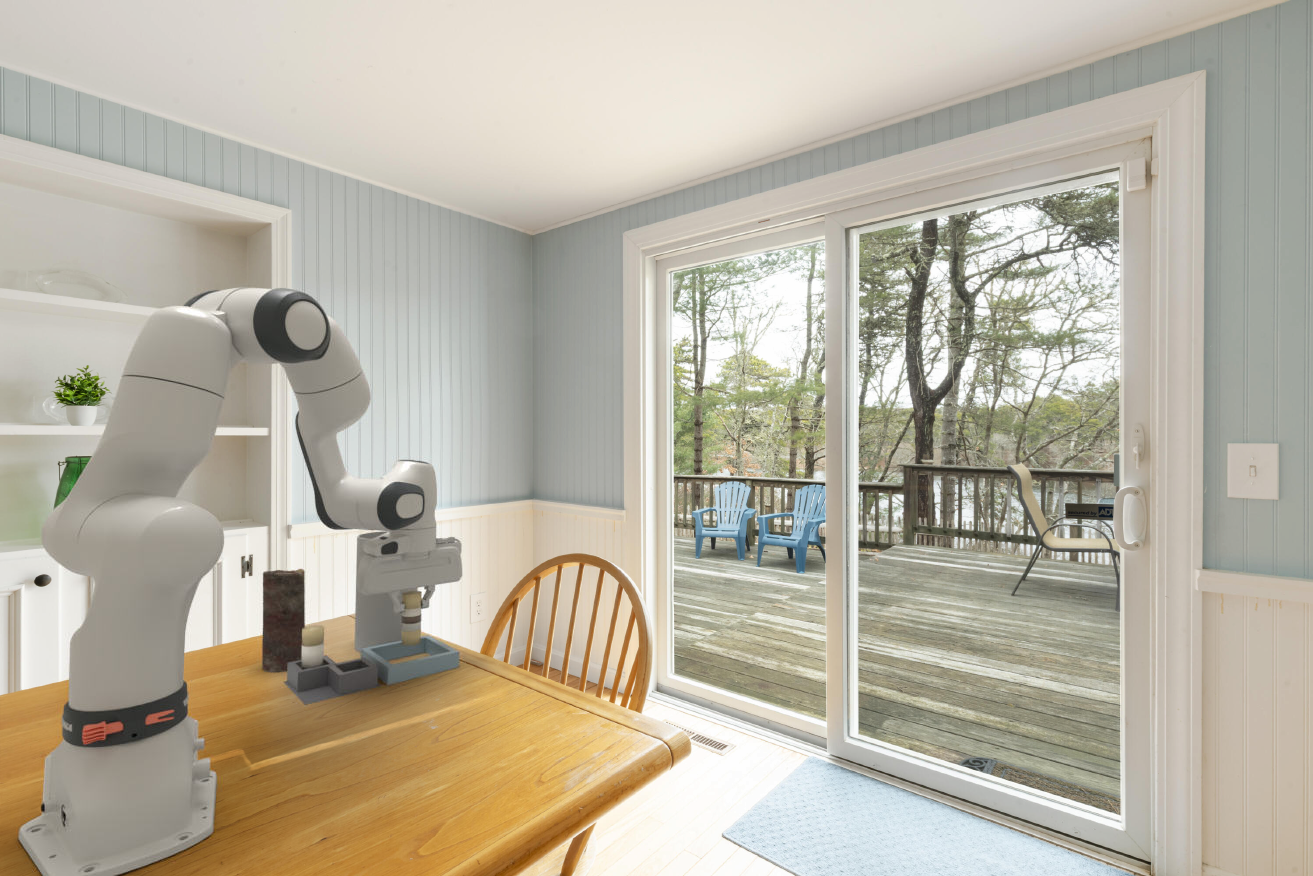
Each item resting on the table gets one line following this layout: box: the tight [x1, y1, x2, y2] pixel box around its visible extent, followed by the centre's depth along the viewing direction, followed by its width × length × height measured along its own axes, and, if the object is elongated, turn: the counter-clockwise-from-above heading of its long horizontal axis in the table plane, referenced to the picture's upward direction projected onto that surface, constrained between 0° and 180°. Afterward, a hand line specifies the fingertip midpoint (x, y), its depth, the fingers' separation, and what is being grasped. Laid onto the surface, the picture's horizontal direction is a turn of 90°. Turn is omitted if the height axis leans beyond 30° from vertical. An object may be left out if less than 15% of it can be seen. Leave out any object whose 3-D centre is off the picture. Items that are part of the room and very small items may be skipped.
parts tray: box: [360, 634, 460, 686], centre depth 128 cm, size 14×14×4 cm
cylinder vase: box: [354, 531, 419, 654], centre depth 140 cm, size 12×12×25 cm
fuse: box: [301, 624, 325, 670], centre depth 118 cm, size 4×4×10 cm
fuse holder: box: [283, 654, 381, 706], centre depth 118 cm, size 14×13×4 cm
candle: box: [261, 568, 306, 673], centre depth 126 cm, size 8×7×20 cm
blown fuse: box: [401, 590, 423, 646], centre depth 128 cm, size 4×4×10 cm
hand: (411, 610), depth 128 cm, fingers closed on blown fuse, 4 cm apart
